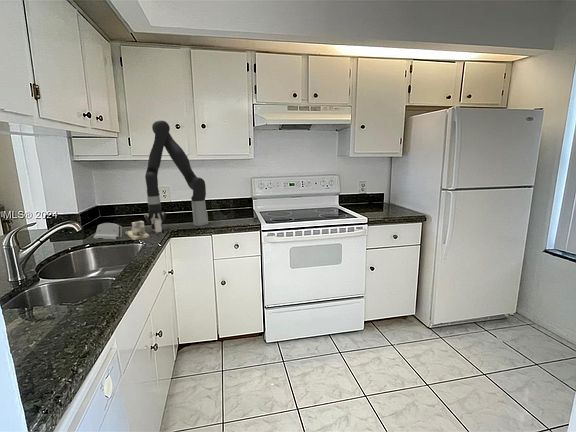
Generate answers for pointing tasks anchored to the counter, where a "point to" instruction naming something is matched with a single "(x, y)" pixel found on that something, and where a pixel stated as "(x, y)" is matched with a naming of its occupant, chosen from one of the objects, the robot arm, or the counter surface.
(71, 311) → the counter surface
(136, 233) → the beige hat shape
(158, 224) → the cream upright block
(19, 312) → the counter surface
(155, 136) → the robot arm
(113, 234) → the grey rounded block
